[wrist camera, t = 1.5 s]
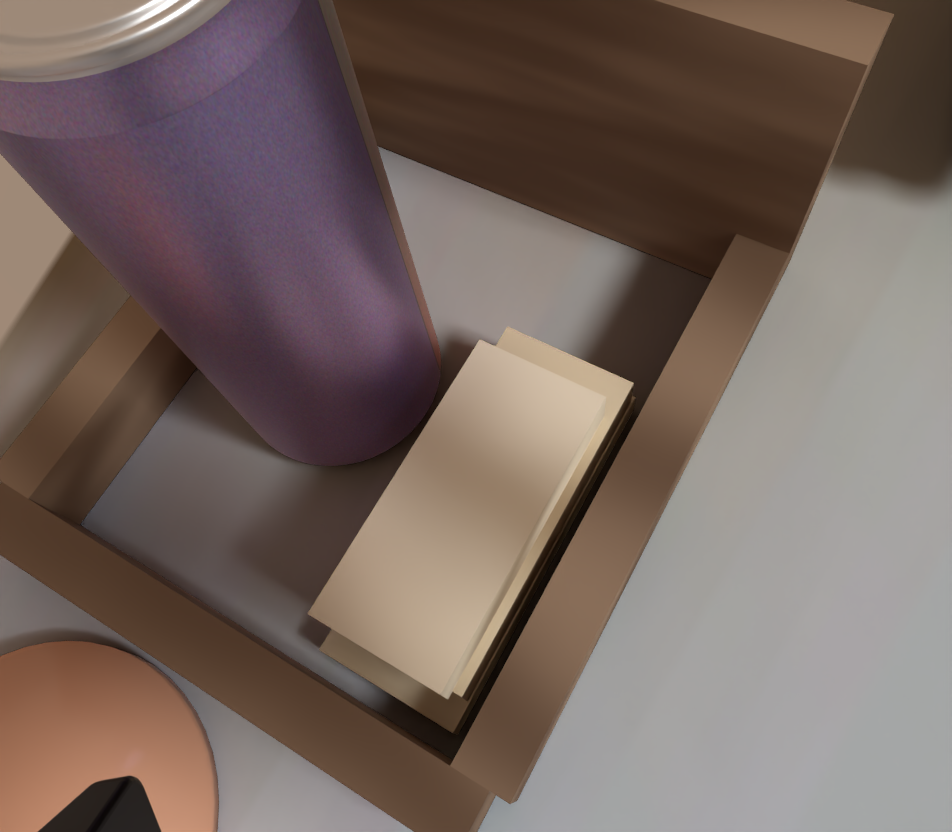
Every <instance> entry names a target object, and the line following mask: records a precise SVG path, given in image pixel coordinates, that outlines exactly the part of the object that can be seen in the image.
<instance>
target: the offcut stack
mask: <svg viewBox="0 0 952 832" xmlns="http://www.w3.org/2000/svg"><path fill="white" fill-rule="evenodd" d="M633 385H634V383H633V382H630V381H628V380H626V379H624V378H622V377H619V376H617V375H615V374H613V373H610V372H608V371H606V370H604V369H601V368H599V367H597V366H595V365H592V364H590V363H588V362H586V361H583V360H581V359H579V358H577V357H575V356H572V355H570V354H568V353H566V352H563V351H561V350H559V349H557V348H554V347H552V346H550V345H548V344H545V343H543V342H541V341H539V340H536V339H534V338H532V337H530V336H528V335H525V334H523V333H521V332H519V331H516V330H514V329H512V328H510V327H507V328H506V330H505V331H504V333H503V335H502V336H501V338H500V339H499V341H498V343H497V344H496V346H493V345H491V344H489V343H487V342H485V341H482V340H479V341H478V343H477V344H476V346H475V348H474V349H473V351H472V352H471V354H470V356H469V357H468V359H467V360H466V362H465V364H464V365H463V367H462V368H461V370H460V371H459V373H458V375H457V376H456V378H455V379H454V381H453V383H452V384H451V386H450V387H449V389H448V391H447V392H446V394H445V395H444V397H443V399H442V400H441V402H440V403H439V405H438V407H437V408H436V410H435V411H434V413H433V414H432V416H431V418H430V419H429V421H428V422H427V424H426V426H425V427H424V429H423V430H422V432H421V434H420V435H419V437H418V438H417V440H416V442H415V443H414V445H413V446H412V448H411V450H410V451H409V453H408V454H407V456H406V457H405V459H404V461H403V462H402V464H401V465H400V467H399V469H398V470H397V472H396V473H395V475H394V477H393V478H392V480H391V481H390V483H389V485H388V486H387V488H386V489H385V491H384V493H383V494H382V496H381V497H380V499H379V500H378V502H377V504H376V505H375V507H374V508H373V510H372V512H371V513H370V515H369V516H368V518H367V520H366V521H365V523H364V524H363V526H362V528H361V529H360V531H359V532H358V534H357V536H356V537H355V539H354V540H353V542H352V543H351V545H350V547H349V548H348V550H347V551H346V553H345V555H344V556H343V558H342V559H341V561H340V563H339V564H338V566H337V567H336V569H335V571H334V572H333V574H332V575H331V577H330V579H329V580H328V582H327V583H326V585H325V586H324V588H323V590H322V591H321V593H320V594H319V596H318V598H317V599H316V601H315V602H314V604H313V606H312V607H311V609H310V610H309V612H308V615H310V616H312V617H313V618H315V619H316V620H318V621H320V622H321V623H323V624H325V625H326V626H328V627H330V628H331V631H330V632H329V634H328V636H327V637H326V639H325V641H324V642H323V644H322V645H321V647H320V649H319V650H320V651H321V652H323V653H325V654H326V655H328V656H329V657H331V658H333V659H334V660H336V661H337V662H339V663H341V664H342V665H344V666H346V667H347V668H349V669H350V670H352V671H354V672H355V673H357V674H358V675H360V676H362V677H363V678H365V679H366V680H368V681H370V682H371V683H373V684H375V685H376V686H378V687H379V688H381V689H383V690H384V691H386V692H387V693H389V694H391V695H392V696H394V697H395V698H397V699H399V700H400V701H402V702H404V703H405V704H407V705H408V706H410V707H412V708H413V709H415V710H416V711H418V712H420V713H421V714H423V715H424V716H426V717H428V718H429V719H431V720H433V721H434V722H436V723H437V724H439V725H441V726H442V727H444V728H445V729H447V730H449V731H450V732H452V733H454V734H457V735H458V734H459V732H460V730H461V728H462V727H463V725H464V723H465V721H466V719H467V717H468V715H469V714H470V712H471V710H472V708H473V706H474V704H475V703H476V701H477V699H478V697H479V695H480V693H481V691H482V690H483V688H484V686H485V684H486V682H487V680H488V679H489V677H490V675H491V673H492V671H493V669H494V667H495V666H496V664H497V662H498V660H499V658H500V656H501V655H502V653H503V651H504V649H505V647H506V645H507V643H508V642H509V640H510V638H511V636H512V634H513V632H514V630H515V629H516V627H517V625H518V623H519V621H520V619H521V618H522V616H523V614H524V612H525V610H526V608H527V606H528V605H529V603H530V601H531V599H532V597H533V595H534V594H535V592H536V590H537V588H538V586H539V584H540V582H541V581H542V579H543V577H544V575H545V573H546V571H547V569H548V568H549V566H550V564H551V562H552V560H553V558H554V557H555V555H556V553H557V551H558V549H559V547H560V545H561V544H562V542H563V540H564V538H565V536H566V534H567V533H568V531H569V529H570V527H571V525H572V523H573V521H574V520H575V518H576V516H577V514H578V512H579V510H580V508H581V507H582V505H583V503H584V501H585V499H586V497H587V496H588V494H589V492H590V490H591V488H592V486H593V484H594V483H595V481H596V479H597V477H598V475H599V473H600V472H601V470H602V468H603V466H604V464H605V462H606V460H607V459H608V457H609V455H610V453H611V451H612V449H613V448H614V446H615V444H616V442H617V440H618V438H619V436H620V435H621V433H622V431H623V429H624V427H625V425H626V423H627V422H628V420H629V418H630V416H631V414H632V412H633V411H634V406H635V399H636V397H635V396H633V395H632V392H633Z"/></svg>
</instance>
